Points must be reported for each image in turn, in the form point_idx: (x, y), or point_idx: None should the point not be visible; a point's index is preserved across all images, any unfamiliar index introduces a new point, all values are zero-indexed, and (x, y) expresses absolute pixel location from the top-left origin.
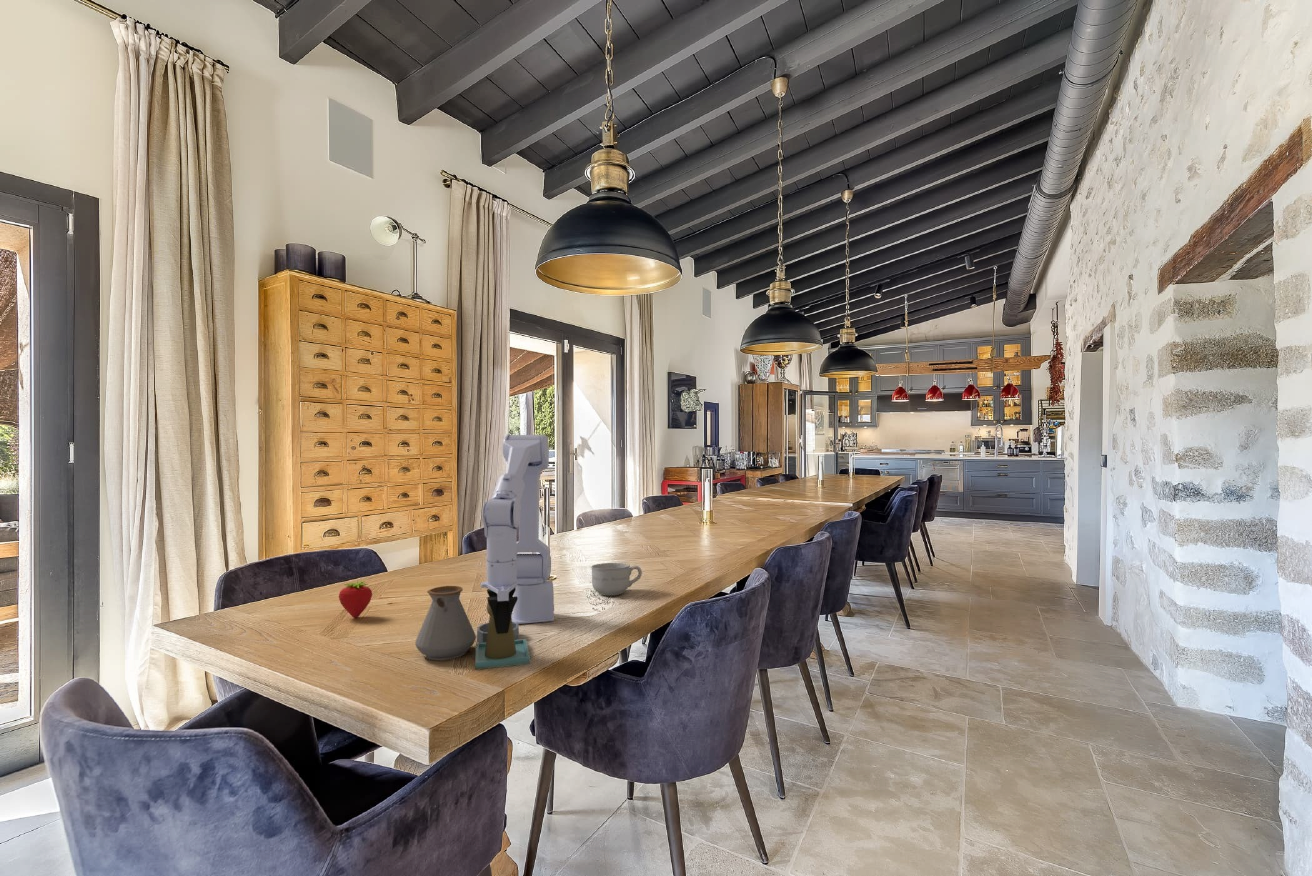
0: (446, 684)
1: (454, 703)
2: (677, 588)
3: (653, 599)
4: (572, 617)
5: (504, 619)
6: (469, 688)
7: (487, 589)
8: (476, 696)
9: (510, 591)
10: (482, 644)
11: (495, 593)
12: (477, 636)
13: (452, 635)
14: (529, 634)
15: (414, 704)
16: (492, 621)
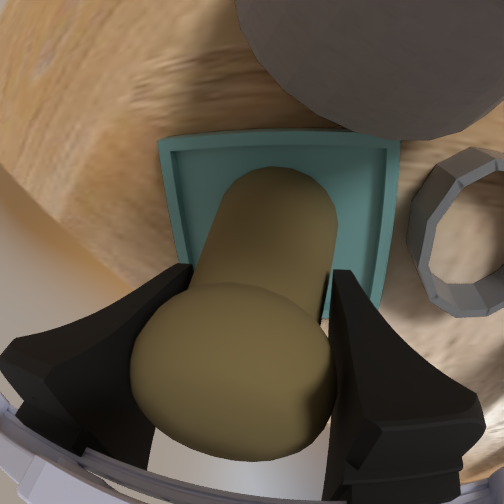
0: (75, 75)
1: (6, 130)
2: (485, 476)
3: (472, 467)
4: (497, 397)
5: None
6: (53, 144)
7: (465, 424)
8: (26, 168)
9: (326, 492)
10: (386, 163)
11: (348, 445)
12: (480, 153)
13: (255, 15)
14: (459, 319)
15: (9, 49)
16: (198, 276)
